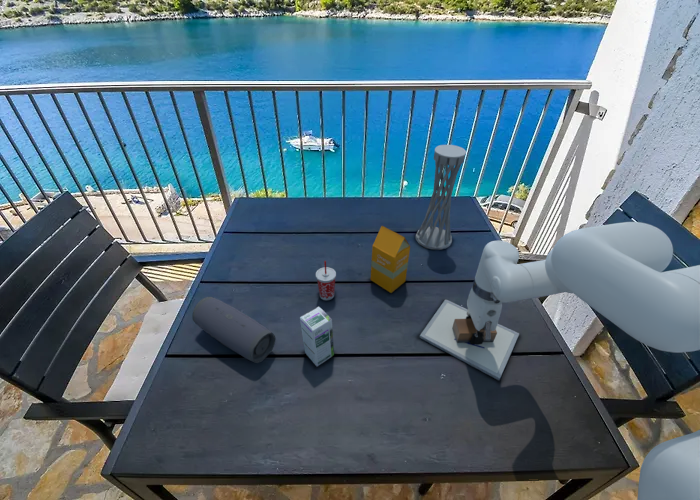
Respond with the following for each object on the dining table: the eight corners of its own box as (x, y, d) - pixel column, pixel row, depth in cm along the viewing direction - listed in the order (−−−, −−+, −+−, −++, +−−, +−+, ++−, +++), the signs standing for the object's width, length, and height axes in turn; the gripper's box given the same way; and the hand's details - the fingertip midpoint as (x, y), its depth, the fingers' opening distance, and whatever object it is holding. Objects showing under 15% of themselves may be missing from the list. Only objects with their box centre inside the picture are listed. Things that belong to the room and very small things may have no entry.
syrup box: (316, 367, 89) (313, 331, 80) (303, 352, 93) (299, 316, 84) (334, 355, 92) (332, 319, 83) (321, 341, 96) (318, 305, 86)
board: (518, 335, 97) (519, 333, 96) (498, 380, 86) (500, 378, 86) (444, 301, 107) (445, 299, 107) (419, 337, 96) (419, 335, 96)
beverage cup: (313, 298, 108) (310, 264, 99) (323, 285, 112) (320, 252, 104) (331, 304, 106) (329, 270, 97) (340, 291, 110) (339, 257, 102)
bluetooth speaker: (279, 347, 94) (274, 323, 88) (254, 373, 88) (247, 349, 82) (222, 312, 104) (214, 288, 97) (196, 333, 97) (185, 309, 91)
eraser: (493, 342, 94) (497, 332, 92) (456, 342, 94) (459, 333, 91) (487, 327, 98) (490, 318, 96) (452, 328, 98) (454, 318, 95)
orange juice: (391, 293, 110) (396, 243, 97) (370, 280, 115) (372, 230, 102) (405, 281, 114) (413, 231, 102) (385, 268, 119) (389, 219, 107)
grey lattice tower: (449, 252, 126) (471, 161, 104) (413, 245, 129) (426, 156, 107) (453, 232, 136) (473, 145, 114) (418, 226, 139) (432, 140, 117)
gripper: (518, 314, 78) (497, 361, 89) (492, 264, 91) (476, 310, 103) (485, 314, 78) (468, 361, 89) (463, 264, 91) (451, 311, 102)
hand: (472, 334), depth 96 cm, fingers closed on eraser, 5 cm apart
